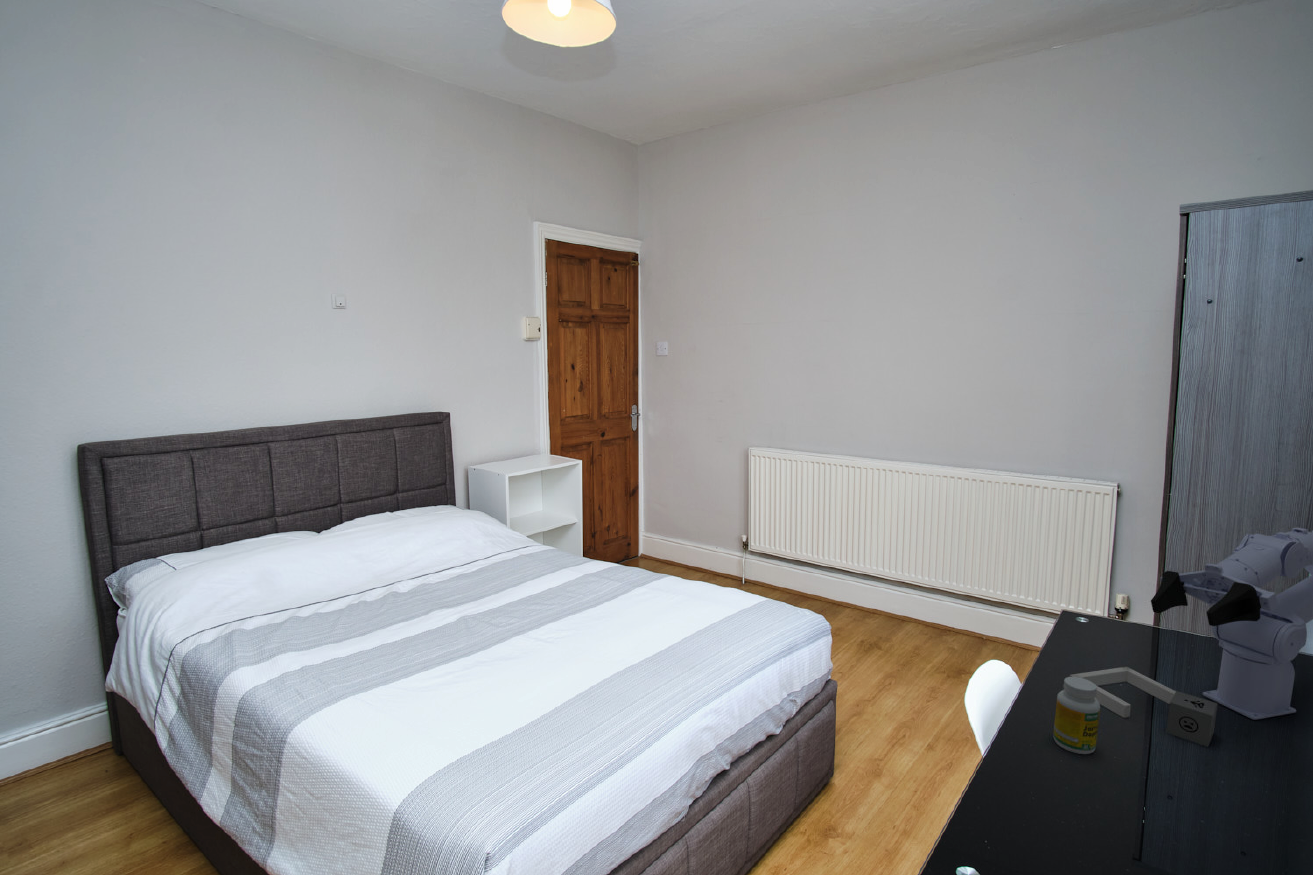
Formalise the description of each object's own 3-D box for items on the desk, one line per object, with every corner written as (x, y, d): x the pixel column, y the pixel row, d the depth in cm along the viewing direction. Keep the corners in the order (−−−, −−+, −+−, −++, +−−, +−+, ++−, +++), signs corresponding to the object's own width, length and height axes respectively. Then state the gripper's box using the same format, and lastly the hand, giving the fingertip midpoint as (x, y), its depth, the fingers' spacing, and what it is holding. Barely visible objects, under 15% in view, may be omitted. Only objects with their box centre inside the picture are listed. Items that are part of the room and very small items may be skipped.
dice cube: (1207, 747, 99) (1212, 715, 98) (1165, 732, 102) (1169, 702, 102) (1213, 734, 102) (1217, 703, 102) (1172, 720, 106) (1176, 690, 105)
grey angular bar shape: (1125, 677, 119) (1126, 666, 119) (1183, 707, 110) (1185, 695, 109) (1068, 685, 116) (1069, 674, 116) (1123, 717, 106) (1125, 705, 106)
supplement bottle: (1063, 729, 103) (1070, 670, 101) (1102, 747, 98) (1109, 685, 97) (1045, 741, 100) (1051, 679, 98) (1084, 760, 95) (1091, 696, 94)
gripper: (1180, 545, 111) (1126, 577, 106) (1289, 561, 97) (1232, 598, 93) (1189, 585, 112) (1135, 619, 107) (1298, 606, 98) (1242, 645, 93)
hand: (1181, 612), depth 100 cm, fingers open, 7 cm apart
